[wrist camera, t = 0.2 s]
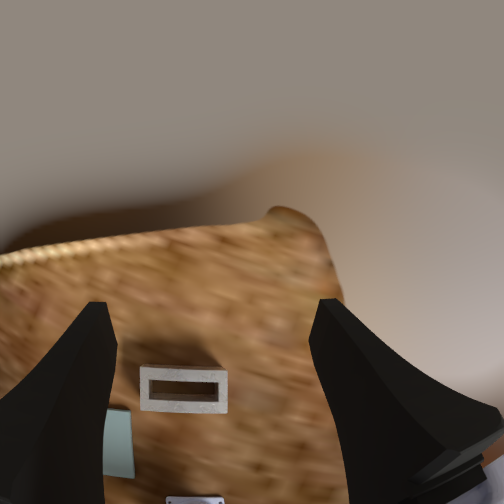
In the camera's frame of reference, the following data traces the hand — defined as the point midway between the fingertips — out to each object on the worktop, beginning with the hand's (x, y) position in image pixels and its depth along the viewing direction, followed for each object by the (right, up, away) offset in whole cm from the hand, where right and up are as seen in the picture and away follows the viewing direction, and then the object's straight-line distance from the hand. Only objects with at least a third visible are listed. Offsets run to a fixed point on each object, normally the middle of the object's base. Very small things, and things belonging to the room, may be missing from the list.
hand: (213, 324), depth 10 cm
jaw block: (-7, -15, +27) cm, 32 cm away
